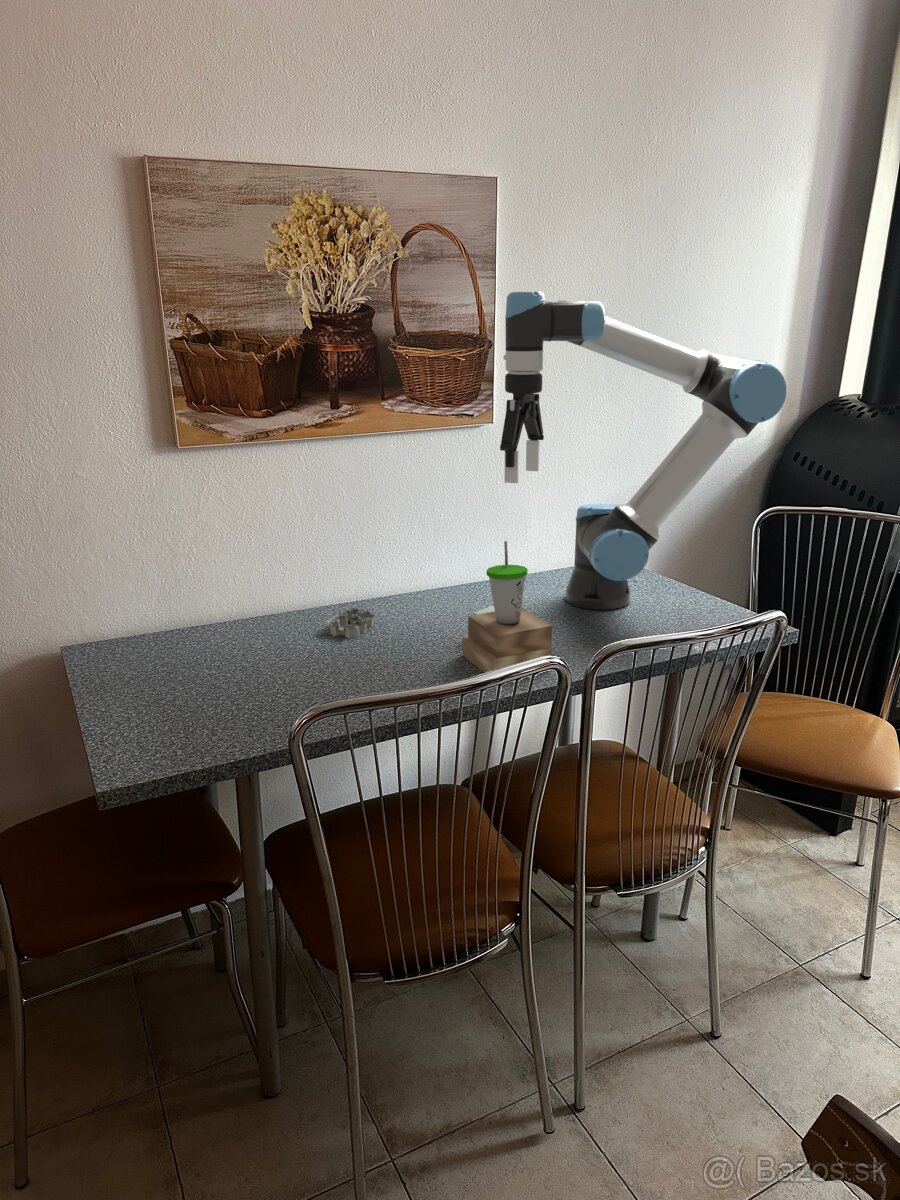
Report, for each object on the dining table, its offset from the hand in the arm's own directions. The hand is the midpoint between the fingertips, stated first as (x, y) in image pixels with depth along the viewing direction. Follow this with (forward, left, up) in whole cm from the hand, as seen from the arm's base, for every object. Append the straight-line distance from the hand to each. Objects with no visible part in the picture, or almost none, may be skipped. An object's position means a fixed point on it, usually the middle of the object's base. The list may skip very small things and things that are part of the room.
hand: (522, 476), depth 181 cm
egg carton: (+35, -12, -33) cm, 50 cm away
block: (+10, +7, -33) cm, 35 cm away
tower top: (+13, +18, -29) cm, 36 cm away
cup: (+13, +19, -24) cm, 33 cm away
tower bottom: (+13, +18, -33) cm, 40 cm away
